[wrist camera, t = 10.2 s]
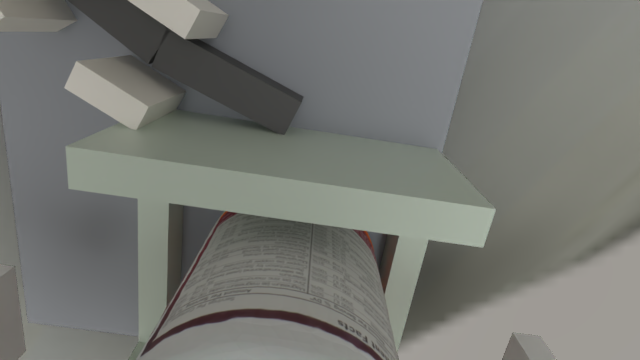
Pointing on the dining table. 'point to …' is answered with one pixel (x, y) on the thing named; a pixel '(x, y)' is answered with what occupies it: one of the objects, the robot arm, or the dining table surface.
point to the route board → (197, 110)
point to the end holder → (277, 194)
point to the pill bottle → (277, 296)
